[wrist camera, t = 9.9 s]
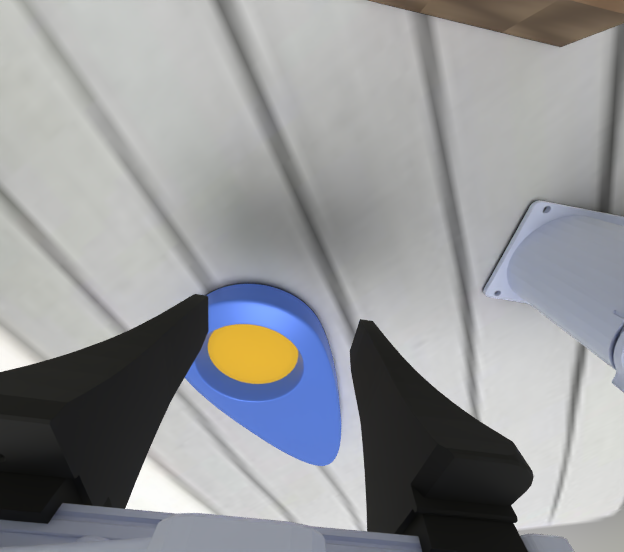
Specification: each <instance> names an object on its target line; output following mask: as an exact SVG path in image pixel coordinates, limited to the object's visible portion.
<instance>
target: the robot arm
mask: <svg viewBox="0 0 624 552" xmlns="http://www.w3.org/2000/svg"><path fill="white" fill-rule="evenodd" d="M545 207H546V210H545V211H543V209H544V208H545ZM496 291H497V293H495V292H496ZM483 293H484V294H485V295H486V296H487V297H491V298H497V299H504V300H510V301H516V302H522V303H528V304H530V305H531V306H533V307H534V308H535V309H536V310H538V311H539V312H540V313H542V314H543V315H544V316H546V317H547V318H548V319H550V320H551V321H552V322H553V323H555V324H556V325H557V326H559V327H560V328H561V329H563V330H564V331H565V332H567V333H568V334H569V335H570V336H572V337H573V338H574V339H576V340H577V341H578V342H580V343H581V344H582V345H584V346H585V347H586V348H587V349H589V350H590V351H591V352H593V353H594V354H595V355H597V356H598V357H599V358H601V359H602V360H603V361H604V362H606V363H607V364H608V365H610V366H611V367H612V368H614V369H615V370H616V375H615V377H614V379H613V380H612V383H613V384H614V385H615V386H616V387H617V388H619V389H620V390H621V391H622V392H624V217H623V216H618V215H613V214H608V213H603V212H598V211H593V210H587V209H582V208H577V207H572V206H567V205H562V204H557V203H552V202H547V201H541V200H538V201H535V202H534V203H532V204H531V206H530V207H529V209H528V211H527V213H526V215H525V216H524V218H523V220H522V222H521V223H520V225H519V227H518V229H517V231H516V232H515V234H514V236H513V238H512V240H511V241H510V243H509V245H508V247H507V249H506V250H505V252H504V254H503V256H502V258H501V259H500V261H499V263H498V265H497V267H496V268H495V270H494V272H493V274H492V276H491V277H490V279H489V281H488V283H487V285H486V286H485V288H484V290H483ZM208 331H209V323H208V296H204V295H198V294H194V295H192V296H191V297H189V298H187V299H185V300H184V301H182V302H180V303H179V304H177V305H175V306H174V307H172V308H170V309H169V310H167V311H165V312H163V313H162V314H160V315H158V316H156V317H154V318H152V319H151V320H149V321H147V322H145V323H143V324H141V325H139V326H137V327H135V328H133V329H131V330H129V331H127V332H124V333H122V334H120V335H118V336H115V337H113V338H111V339H108V340H106V341H103V342H100V343H98V344H95V345H92V346H89V347H87V348H84V349H81V350H78V351H75V352H72V353H69V354H66V355H63V356H60V357H57V358H53V359H50V360H46V361H43V362H39V363H36V364H32V365H28V366H24V367H20V368H16V369H12V370H8V371H4V372H0V552H574V550H573V548H572V547H571V545H570V544H569V542H568V540H567V539H566V538H564V537H561V536H551V535H541V534H525V535H521V536H519V534H518V531H517V529H516V527H515V526H514V524H513V523H516V522H517V516H516V514H515V512H514V510H513V509H512V507H511V505H512V504H513V503H514V502H515V501H516V500H517V499H518V498H519V497H521V496H522V495H523V494H524V493H525V492H526V491H527V490H528V489H529V487H530V486H531V484H532V481H533V477H534V476H533V472H532V470H531V468H530V467H529V465H528V464H527V462H526V461H525V459H524V458H523V456H522V455H521V453H520V452H519V450H518V449H517V447H516V446H515V444H514V443H513V442H512V441H511V440H509V439H507V438H506V437H504V436H502V435H501V434H499V433H498V432H496V431H494V430H493V429H491V428H489V427H488V426H486V425H484V424H483V423H481V422H480V421H478V420H477V419H475V418H474V417H473V416H471V415H470V414H468V413H467V412H465V411H464V410H462V409H461V408H460V407H458V406H457V405H456V404H454V403H453V402H452V401H450V400H449V399H448V398H447V397H445V396H444V395H443V394H442V393H440V392H439V391H438V390H437V389H435V388H434V387H433V386H432V385H431V384H430V383H429V382H427V381H426V380H425V379H424V378H423V377H422V376H421V375H420V374H419V373H418V372H417V371H416V370H415V369H414V368H413V367H412V366H411V365H410V364H409V363H408V362H407V361H406V360H405V359H404V358H403V357H402V356H401V355H400V353H399V352H398V351H397V350H396V349H395V348H394V347H393V345H392V344H391V343H390V342H389V341H388V339H387V338H386V337H385V336H384V334H383V333H382V332H381V331H380V329H379V328H378V327H377V326H376V325H375V323H374V322H373V321H368V320H361V319H360V321H359V325H358V328H357V331H356V334H355V337H354V340H353V343H352V346H351V349H350V363H351V373H352V379H353V384H354V390H355V395H356V400H357V405H358V410H359V416H360V422H361V431H362V442H363V454H364V468H365V485H366V504H367V532H366V531H356V530H345V529H334V528H324V527H313V526H308V525H303V524H299V523H294V522H287V521H276V520H266V519H255V518H244V517H234V516H223V515H213V514H202V513H182V514H174V513H164V512H153V511H142V510H132V509H125V508H126V505H127V503H128V500H129V498H130V495H131V492H132V490H133V487H134V485H135V482H136V480H137V477H138V475H139V472H140V470H141V468H142V465H143V463H144V460H145V458H146V456H147V453H148V451H149V448H150V446H151V444H152V442H153V439H154V437H155V435H156V433H157V430H158V428H159V426H160V423H161V421H162V419H163V417H164V415H165V413H166V411H167V408H168V406H169V404H170V402H171V400H172V398H173V396H174V395H175V393H176V391H177V389H178V388H179V386H180V384H181V382H182V381H183V379H184V377H185V376H186V374H187V372H188V371H189V369H190V367H191V366H192V364H193V362H194V360H195V359H196V357H197V355H198V354H199V352H200V350H201V348H202V345H203V343H204V341H205V338H206V336H207V333H208Z"/></svg>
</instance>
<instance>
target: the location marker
mask: <svg viewBox="0 0 624 552" xmlns="http://www.w3.org/2000/svg"><path fill="white" fill-rule="evenodd" d="M206 296H208V323H209V331H208V333H207V336H206V338H205V341H204V343H203V345H202V348H201V350H200V352H199V354H198V355H197V357H196V359H195V360H194V362H193V364H192V366H191V367H190V369H189V371H188V372H187V374H186V376H185V378H186V379H187V381H188V382H189V383H190V384H191V385H192V386H193V387H194V388H195V389H196V390H197V391H198V392H199V393H200V394H202V395H203V396H204V397H205V398H206V399H207V400H208V401H210V402H211V403H212V404H213V405H215V406H216V407H217V408H218V409H220V410H221V411H222V412H224V413H225V414H226V415H228V416H229V417H230V418H232V419H233V420H235V421H236V422H238V423H239V424H241V425H242V426H243V427H245V428H246V429H248V430H249V431H251V432H252V433H254V434H255V435H257V436H258V437H260V438H261V439H263V440H265V441H266V442H268V443H269V444H271V445H273V446H274V447H276V448H278V449H279V450H281V451H283V452H285V453H287V454H289V455H291V456H293V457H295V458H297V459H299V460H301V461H304V462H306V463H309V464H313V465H318V466H325V465H328V464H330V463H331V462H332V461H333V460H334V459H335V458H336V456H337V453H338V450H339V446H340V440H341V414H340V404H339V393H338V384H337V377H336V372H335V367H334V361H333V357H332V353H331V350H330V347H329V343H328V340H327V337H326V335H325V332H324V330H323V327H322V325H321V323H320V321H319V320H318V318H317V316H316V315H315V314H314V312H313V311H312V310H311V309H310V308H309V307H308V306H307V305H306V304H305V303H304V302H302V301H301V300H300V299H298V298H297V297H295V296H293V295H291V294H289V293H287V292H285V291H283V290H280V289H277V288H274V287H270V286H266V285H260V284H236V285H231V286H226V287H223V288H220V289H217V290H215V291H213V292H211V293H209V294H208V295H206Z"/></svg>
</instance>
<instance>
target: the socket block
mask: <svg viewBox="0 0 624 552" xmlns="http://www.w3.org/2000/svg"><path fill="white" fill-rule="evenodd" d="M369 1H373V2H377V3H381V4H386V5H390V6H394V7H398V8H402V9H406V10H410V11H415V12H419V13H423V14H427V15H431V16H435V17H439V18H444V19H448V20H452V21H456V22H460V23H464V24H468V25H472V26H477V27H481V28H485V29H489V30H493V31H497V32H501V33H506V34H510V35H514V36H518V37H522V38H526V39H530V40H535V41H539V42H543V43H547V44H551V45H555V46H559V47H562V46H565V45H567V44H570V43H573V42H575V41H578V40H580V39H583V38H586V37H588V36H591V35H594V34H596V33H599V32H602V31H604V30H607V29H609V28H612V27H615V26H617V25H620V24H623V23H624V0H369Z"/></svg>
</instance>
